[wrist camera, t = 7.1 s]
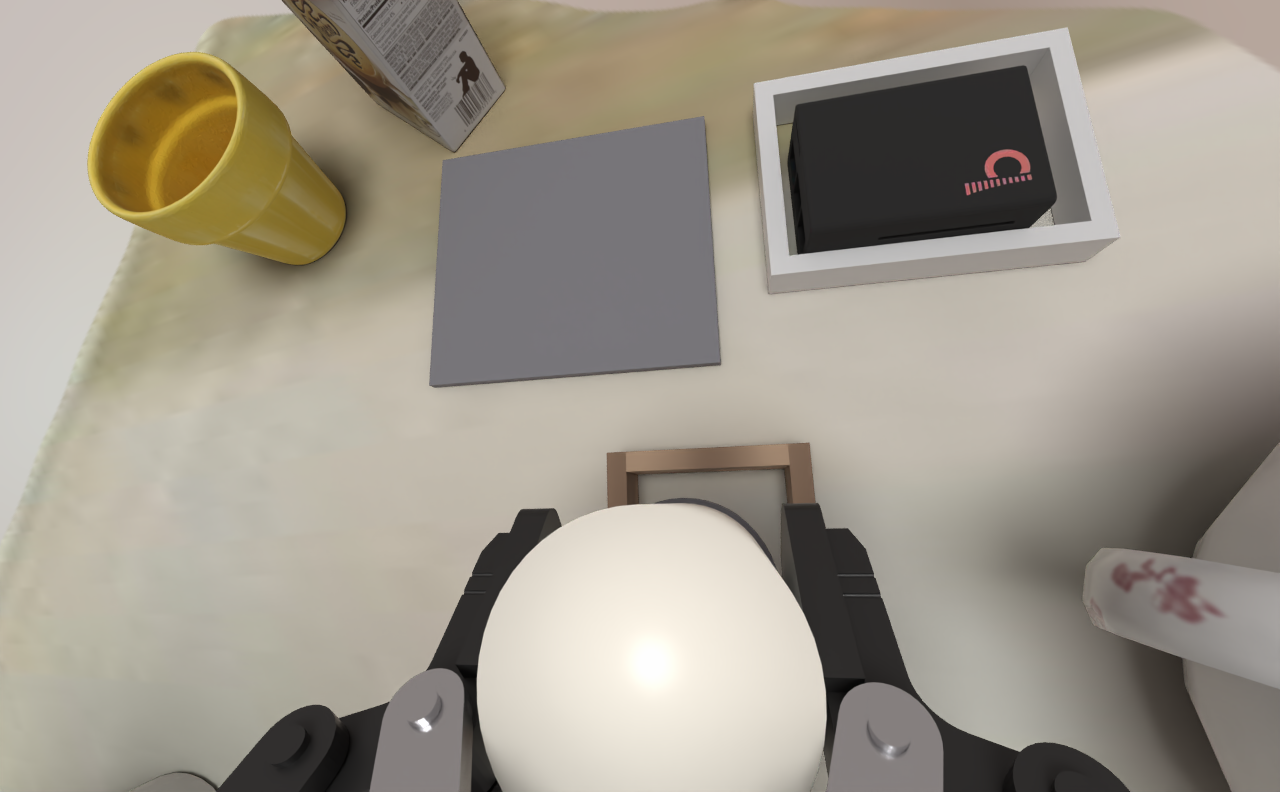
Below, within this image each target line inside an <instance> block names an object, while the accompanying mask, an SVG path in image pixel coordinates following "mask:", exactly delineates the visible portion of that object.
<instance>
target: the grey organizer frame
mask: <svg viewBox="0 0 1280 792" xmlns="http://www.w3.org/2000/svg"><path fill="white" fill-rule="evenodd" d="M1022 65H1025V66H1026V67H1027V69H1028V74H1029V78H1030V82H1031V86H1032V91H1033V95H1034V99H1035V103H1036V108H1037V112H1038V116H1039V120H1040V124H1041V129H1042V133H1043V137H1044V141H1045V146H1046V150H1047V154H1048V158H1049V163H1050V167H1051V171H1052V175H1053V179H1054V184H1055V188H1056V192H1057V200H1056V202H1055V204H1054V205H1053V206H1052V207H1051V210H1052V214H1053V219H1054V223H1055V225H1051V226H1042V227H1034V228H1025V229H1016V230H1007V231H999V232H990V233H981V234H973V235H964V236H955V237H947V238H938V239H929V240H921V241H912V242H903V243H895V244H886V245H877V246H869V247H860V248H851V249H843V250H834V251H825V252H817V253H808V254H799V255H791V256H789V249H788V239H787V229H786V219H785V209H784V199H783V189H782V179H781V169H780V159H779V149H778V139H777V129H776V125H782V124H788V123H793V119H794V112H795V106H796V105H797V104H802V103H808V102H813V101H819V100H825V99H831V98H836V97H842V96H848V95H854V94H860V93H865V92H871V91H877V90H883V89H889V88H894V87H900V86H906V85H912V84H918V83H923V82H929V81H935V80H941V79H947V78H952V77H958V76H964V75H970V74H975V73H981V72H987V71H993V70H999V69H1004V68H1010V67H1016V66H1022ZM753 123H754V134H755V145H756V156H757V168H758V179H759V190H760V201H761V213H762V224H763V235H764V246H765V257H766V269H767V280H768V291H769V294H773V293H783V292H793V291H803V290H812V289H822V288H832V287H842V286H851V285H861V284H871V283H881V282H890V281H900V280H910V279H920V278H929V277H939V276H949V275H959V274H968V273H978V272H988V271H998V270H1007V269H1017V268H1027V267H1036V266H1046V265H1056V264H1066V263H1075V262H1085V261H1087V260H1088V259H1090V258H1091V257H1093V256H1094V255H1096V254H1097V253H1098V252H1100V251H1101V250H1103V249H1104V248H1106V247H1107V246H1109V245H1110V244H1111V243H1113V242H1114V241H1116V240H1117V239H1119V238H1120V233H1119V229H1118V225H1117V221H1116V217H1115V213H1114V209H1113V205H1112V201H1111V197H1110V193H1109V189H1108V185H1107V182H1106V178H1105V174H1104V170H1103V166H1102V162H1101V158H1100V154H1099V150H1098V146H1097V142H1096V138H1095V134H1094V130H1093V126H1092V122H1091V118H1090V114H1089V110H1088V106H1087V102H1086V98H1085V95H1084V91H1083V87H1082V83H1081V79H1080V75H1079V71H1078V67H1077V63H1076V59H1075V55H1074V51H1073V47H1072V43H1071V39H1070V35H1069V31H1068V28H1062V29H1056V30H1051V31H1045V32H1040V33H1034V34H1028V35H1023V36H1017V37H1011V38H1006V39H1000V40H995V41H989V42H983V43H978V44H972V45H966V46H961V47H955V48H950V49H944V50H938V51H933V52H927V53H921V54H916V55H910V56H905V57H899V58H893V59H888V60H882V61H876V62H871V63H865V64H860V65H854V66H848V67H843V68H837V69H831V70H826V71H820V72H814V73H809V74H803V75H798V76H792V77H786V78H781V79H775V80H769V81H764V82H758V83H754V95H753Z"/></svg>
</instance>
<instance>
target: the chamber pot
mask: <svg viewBox="0 0 1280 792" xmlns="http://www.w3.org/2000/svg"><path fill="white" fill-rule="evenodd" d="M1082 601H1083V603H1084V605H1085V608H1086V610H1087V612H1088V615H1089V617H1090V619H1091V622H1092V624H1093V625H1094V626H1096V627H1099V628H1101V629H1103V630H1106V631H1108V632H1110V633H1113V634H1115V635H1118V636H1121V637H1124V638H1127V639H1130V640H1133V641H1135V642H1138V643H1141V644H1144V645H1147V646H1150V647H1153V648H1155V649H1158V650H1161V651H1164V652H1167V653H1170V654H1173V655H1176V656H1179V657H1182V661H1183V672H1184V682H1185V686H1186V689H1187V691H1188V693H1189V696H1190V698H1191V700H1192V703H1193V705H1194V707H1195V710H1196V712H1197V714H1198V717H1199V719H1200V721H1201V724H1202V726H1203V728H1204V730H1205V733H1206V735H1207V737H1208V740H1209V742H1210V744H1211V747H1212V749H1213V751H1214V754H1215V756H1216V758H1217V761H1218V763H1219V765H1220V767H1221V770H1222V772H1223V774H1224V776H1225V779H1226V781H1227V783H1228V785H1229V788H1230V790H1231V792H1280V442H1279V443H1278V444H1277V445H1276V447H1275V448H1274V449H1273V450H1272V451H1271V453H1270V454H1269V455H1268V456H1267V458H1266V459H1265V460H1264V461H1263V462H1262V464H1261V465H1260V466H1259V467H1258V469H1257V470H1256V471H1255V472H1254V473H1253V475H1252V476H1251V477H1250V478H1249V480H1248V481H1247V482H1246V483H1245V484H1244V486H1243V487H1242V488H1241V489H1240V490H1239V492H1238V493H1237V494H1236V495H1235V497H1234V498H1233V499H1232V500H1231V502H1230V503H1229V504H1228V505H1227V506H1226V508H1225V509H1224V510H1223V511H1222V513H1221V514H1220V515H1219V516H1218V518H1217V519H1216V520H1215V521H1214V522H1213V524H1212V525H1211V526H1210V527H1209V529H1208V530H1207V531H1206V532H1205V533H1204V535H1203V536H1202V537H1201V538H1200V540H1199V541H1198V542H1197V543H1196V547H1195V550H1194V554H1193V557H1192V558H1189V557H1182V556H1175V555H1167V554H1160V553H1153V552H1145V551H1138V550H1131V549H1123V548H1101V549H1100V550H1099V551H1098V552H1097V554H1096V555H1095V556H1094V557H1093V558H1092V559H1091V560H1090V562H1089V563H1088V564H1087V565H1086V570H1085V579H1084V587H1083V596H1082Z"/></svg>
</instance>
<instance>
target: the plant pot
mask: <svg viewBox="0 0 1280 792" xmlns="http://www.w3.org/2000/svg"><path fill="white" fill-rule="evenodd" d="M87 165H88V176H89V181H90V184H91V187H92V190H93V192H94V194H95V196H96V197H97V199H98V200H99V201H100V203H101V204H102V205H103V206H104V207H105V208H106V209H108V210H109V211H110V212H111V213H113V214H115V215H116V216H118V217H120V218H122V219H124V220H126V221H129V222H131V223H133V224H135V225H138V226H140V227H142V228H144V229H147V230H149V231H152V232H154V233H156V234H159V235H161V236H164V237H167V238H169V239H172V240H174V241H177V242H180V243H184V244H190V245H208V244H213V243H214V244H218V245H222V246H225V247H229V248H233V249H236V250H240V251H244V252H247V253H251V254H255V255H258V256H262V257H265V258H269V259H273V260H276V261H280V262H283V263H287V264H292V265H303V264H308V263H311V262H314V261H316V260H318V259H319V258H321V257H322V256H324V255H325V254H326V253H327V252H328V251H329V250H330V249H331V248H332V247H333V246H334V245H335V243H336V242H337V240H338V239H339V237H340V235H341V233H342V231H343V228H344V224H345V218H346V207H345V203H344V200H343V197H342V195H341V194H340V192H339V191H338V189H337V188H336V187H335V186H334V184H333V183H332V182H331V181H330V180H329V179H328V177H327V176H326V175H325V174H324V173H323V172H322V170H321V169H320V168H319V167H318V166H317V165H316V163H315V162H314V161H313V160H312V159H311V158H310V156H309V155H308V154H307V153H306V152H305V151H304V149H303V148H302V147H301V146H300V145H299V143H298V142H297V141H296V140H295V139H294V138H293V136H292V135H291V131H290V128H289V124H288V122H287V120H286V118H285V116H284V115H283V113H282V112H281V110H280V109H279V108H278V107H277V106H276V105H275V104H274V103H273V102H272V101H271V100H270V99H269V98H268V97H267V96H266V95H265V94H264V93H262V92H261V91H260V90H259V89H258V88H257V87H256V86H255V85H253V84H252V83H251V82H250V81H249V80H248V79H246V78H245V77H244V76H243V75H242V74H241V73H239V72H238V71H237V70H236V69H234V68H233V67H232V66H231V65H229V64H228V63H227V62H225V61H224V60H222V59H220V58H218V57H216V56H213V55H210V54H206V53H200V52H187V53H179V54H174V55H171V56H168V57H165V58H163V59H160V60H158V61H156V62H154V63H152V64H150V65H149V66H147V67H146V68H144V69H143V70H141V71H140V72H139V73H137V74H136V75H135V76H134V77H132V78H131V79H130V80H129V81H128V82H127V83H126V84H125V85H124V86H123V87H122V88H121V89H120V90H119V91H118V92H117V93H116V95H115V96H114V97H113V98H112V100H111V101H110V103H109V104H108V105H107V107H106V109H105V110H104V112H103V114H102V115H101V117H100V119H99V121H98V123H97V125H96V127H95V130H94V133H93V136H92V139H91V142H90V147H89V152H88V163H87Z"/></svg>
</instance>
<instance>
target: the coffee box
mask: <svg viewBox="0 0 1280 792" xmlns="http://www.w3.org/2000/svg"><path fill="white" fill-rule="evenodd" d="M282 1H283V2H284V4H285V5H287V7H288V8H289V9H290V10H291V11H292V12H293V13H294V14H295V16H296V17H297V18H298V19H299V20H300V21H301V22H302V23H303V24H304V25H305V26H306V27H307V29H308V30H309V31H310V32H311V33H312V34H313V35H314V36H315V37H316V38H317V40H318V41H319V42H320V43H321V44H322V45H323V46H324V47H325V48H326V49H327V50H328V51H329V53H330V54H331V55H332V56H333V57H334V58H335V59H336V60H337V61H338V62H339V63H340V64H341V66H342V67H343V68H344V69H345V70H346V71H347V72H348V73H349V74H350V75H351V76H352V77H353V78H354V80H355V81H356V82H357V83H358V84H359V85H360V86H361V87H362V88H363V89H364V90H365V91H366V92H367V93H368V95H369V96H370V97H371V98H372V99H373V100H374V101H375V102H376V103H377V104H379V105H381V106H382V107H384V108H385V109H387V110H388V111H390V112H391V113H393V114H394V115H396V116H398V117H399V118H401V119H402V120H404V121H406V122H407V123H409V124H410V125H412V126H413V127H415V128H417V129H418V130H420V131H421V132H423V133H424V134H426V135H427V136H429V137H430V138H432V139H434V140H435V141H437V142H438V143H440V144H441V145H443V146H444V147H446V148H448V149H449V150H451V151H452V152H455V151H456V150H457V149H458V148H459V146H460V145H461V144H462V143H463V141H464V140H465V139H466V137H467V136H468V135H469V134H470V133H471V131H472V130H473V129H474V128H475V126H476V125H477V124H478V123H479V121H480V120H481V119H482V118H483V116H484V115H485V114H486V113H487V111H488V110H489V109H490V108H491V106H492V105H493V104H494V103H495V101H496V100H497V99H498V98H499V96H500V95H501V94H502V93H503V91H504V90H505V85H504V83H503V81H502V80H501V78H500V76H499V74H498V73H497V71H496V69H495V67H494V66H493V64H492V62H491V60H490V58H489V57H488V55H487V53H486V51H485V49H484V48H483V46H482V44H481V42H480V40H479V38H478V37H477V35H476V33H475V31H474V30H473V28H472V26H471V24H470V22H469V20H468V19H467V17H466V15H465V13H464V11H463V9H462V8H461V6H460V4H459V2H458V1H457V0H282Z"/></svg>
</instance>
